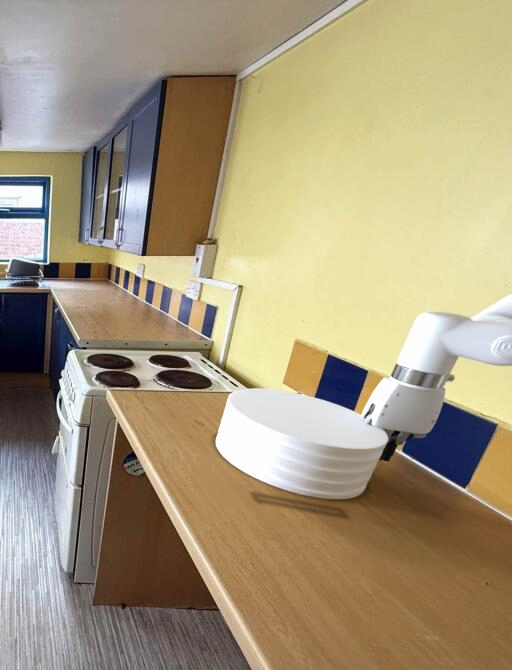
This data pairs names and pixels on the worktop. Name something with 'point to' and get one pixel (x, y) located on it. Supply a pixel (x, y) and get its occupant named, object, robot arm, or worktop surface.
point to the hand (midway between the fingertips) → (379, 457)
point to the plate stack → (300, 443)
